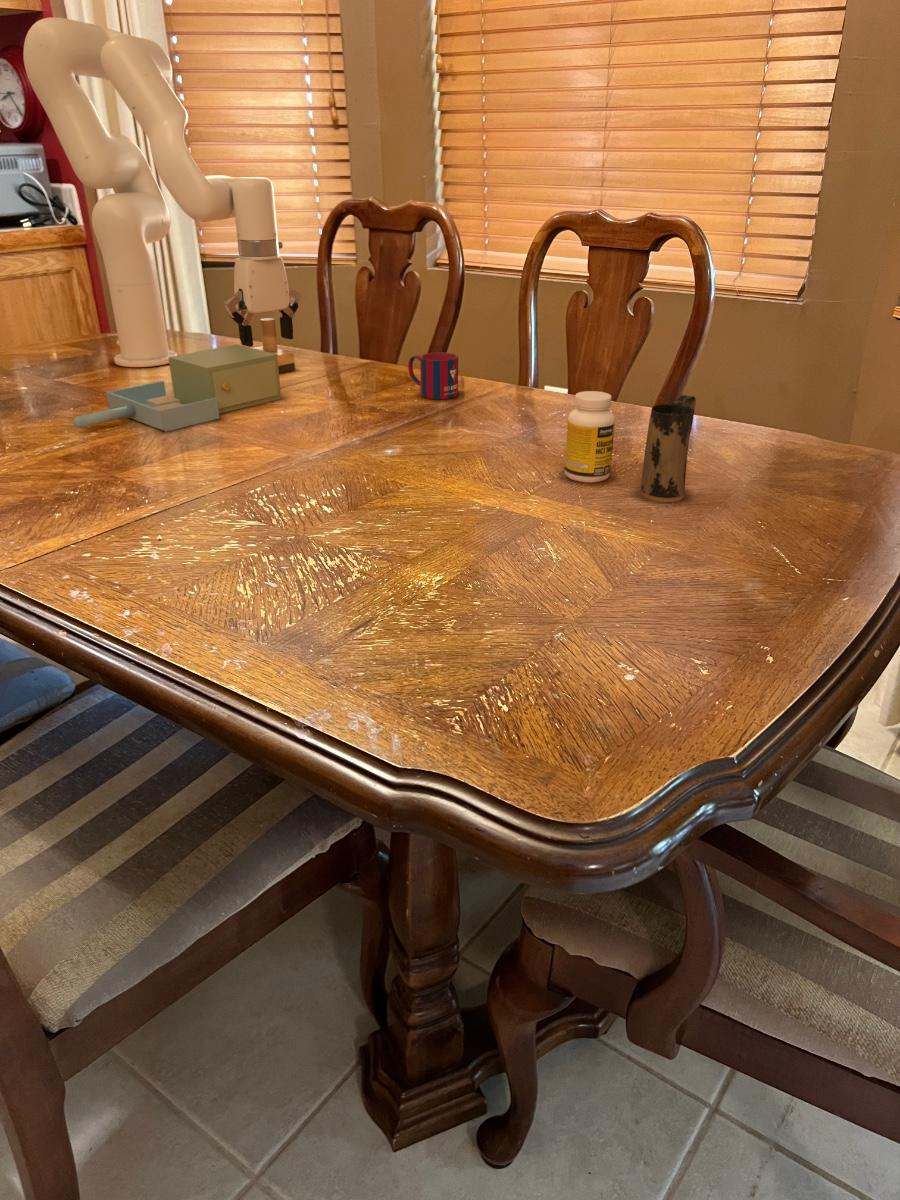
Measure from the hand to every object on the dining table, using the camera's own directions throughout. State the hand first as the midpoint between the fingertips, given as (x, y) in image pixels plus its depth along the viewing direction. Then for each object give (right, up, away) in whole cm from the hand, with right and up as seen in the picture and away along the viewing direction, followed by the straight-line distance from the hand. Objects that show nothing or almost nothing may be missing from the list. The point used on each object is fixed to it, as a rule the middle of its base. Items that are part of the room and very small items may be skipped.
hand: (267, 341), depth 171 cm
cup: (+33, -14, -16) cm, 39 cm away
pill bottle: (+55, -35, -54) cm, 85 cm away
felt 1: (-12, -18, -26) cm, 34 cm away
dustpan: (-15, -22, -31) cm, 41 cm away
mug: (+64, -38, -60) cm, 95 cm away
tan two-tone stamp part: (0, -5, +2) cm, 5 cm away
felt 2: (-9, -20, -30) cm, 37 cm away
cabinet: (-3, -16, -20) cm, 25 cm away
